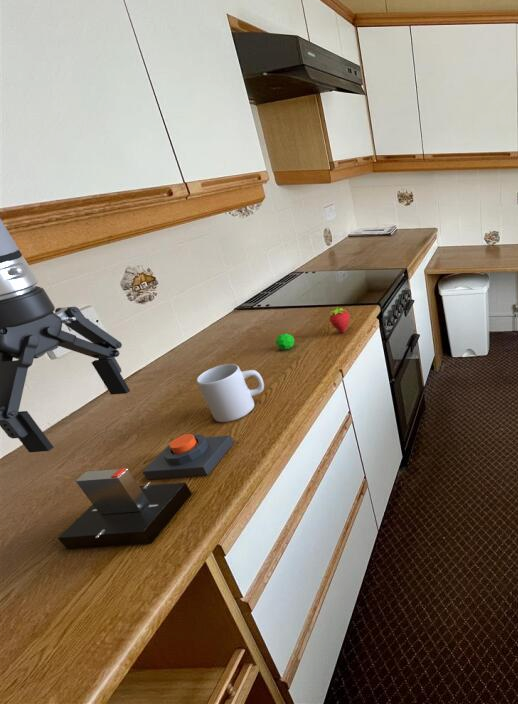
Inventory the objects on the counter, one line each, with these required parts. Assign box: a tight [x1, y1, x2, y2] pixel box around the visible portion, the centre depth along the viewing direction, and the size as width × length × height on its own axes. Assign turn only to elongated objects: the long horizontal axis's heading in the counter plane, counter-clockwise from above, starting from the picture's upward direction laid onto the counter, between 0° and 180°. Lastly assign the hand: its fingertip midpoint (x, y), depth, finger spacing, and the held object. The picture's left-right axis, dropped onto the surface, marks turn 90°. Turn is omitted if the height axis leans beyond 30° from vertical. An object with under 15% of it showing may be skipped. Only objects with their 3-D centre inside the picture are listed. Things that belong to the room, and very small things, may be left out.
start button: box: [169, 433, 197, 454], centre depth 82 cm, size 4×4×2 cm
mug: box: [196, 363, 265, 423], centre depth 97 cm, size 12×8×11 cm
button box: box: [142, 433, 234, 481], centre depth 83 cm, size 12×9×4 cm
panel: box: [57, 481, 193, 551], centre depth 71 cm, size 14×11×3 cm
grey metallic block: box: [75, 467, 149, 514], centre depth 69 cm, size 7×2×8 cm, turn 92°
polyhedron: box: [275, 333, 295, 351], centre depth 126 cm, size 5×5×5 cm
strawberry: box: [329, 307, 350, 334], centre depth 132 cm, size 6×8×10 cm
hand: (85, 418), depth 64 cm, fingers open, 13 cm apart
